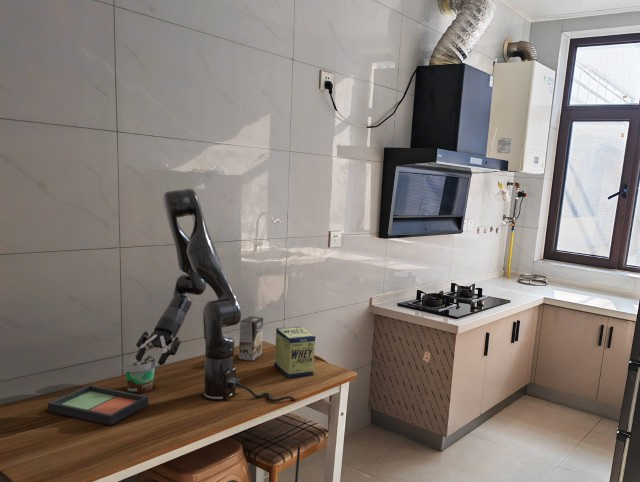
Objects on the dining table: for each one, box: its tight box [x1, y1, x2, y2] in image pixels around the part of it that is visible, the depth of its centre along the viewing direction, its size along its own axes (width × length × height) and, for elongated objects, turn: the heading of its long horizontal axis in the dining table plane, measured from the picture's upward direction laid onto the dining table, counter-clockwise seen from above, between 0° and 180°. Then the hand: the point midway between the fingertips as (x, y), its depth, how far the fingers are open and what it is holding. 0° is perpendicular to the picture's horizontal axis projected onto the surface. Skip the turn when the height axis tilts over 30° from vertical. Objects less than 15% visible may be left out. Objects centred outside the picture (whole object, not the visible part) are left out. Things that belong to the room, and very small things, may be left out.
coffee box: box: [238, 315, 264, 362], centre depth 225 cm, size 9×6×16 cm
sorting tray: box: [47, 384, 149, 426], centre depth 169 cm, size 22×16×3 cm
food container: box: [124, 354, 158, 394], centre depth 185 cm, size 12×6×10 cm, turn 168°
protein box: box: [273, 326, 316, 379], centre depth 215 cm, size 10×16×16 cm
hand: (148, 362), depth 186 cm, fingers open, 8 cm apart
